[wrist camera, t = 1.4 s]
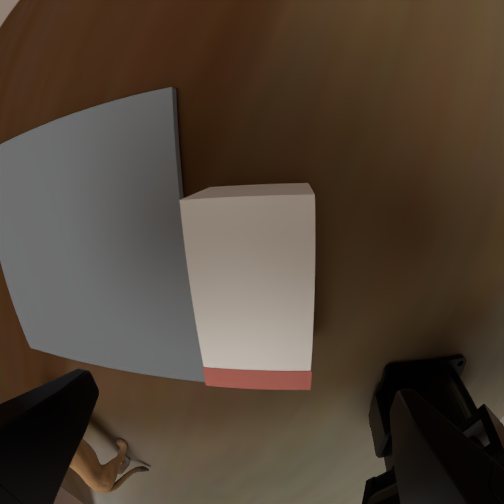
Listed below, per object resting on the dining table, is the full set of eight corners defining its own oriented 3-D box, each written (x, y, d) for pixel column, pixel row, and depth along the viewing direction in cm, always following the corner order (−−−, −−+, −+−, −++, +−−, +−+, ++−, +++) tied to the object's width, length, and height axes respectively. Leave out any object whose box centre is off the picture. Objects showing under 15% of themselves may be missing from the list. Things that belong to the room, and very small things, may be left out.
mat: (176, 88, 14) (172, 86, 13) (209, 376, 19) (207, 382, 19) (-11, 152, 16) (-16, 152, 16) (33, 344, 22) (30, 347, 21)
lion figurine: (42, 388, 25) (-1, 438, 16) (53, 372, 23) (2, 429, 14) (140, 468, 27) (114, 525, 18) (163, 462, 25) (136, 527, 17)
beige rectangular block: (309, 183, 15) (316, 194, 10) (308, 337, 17) (310, 389, 13) (209, 187, 15) (177, 200, 11) (224, 336, 18) (205, 385, 14)
